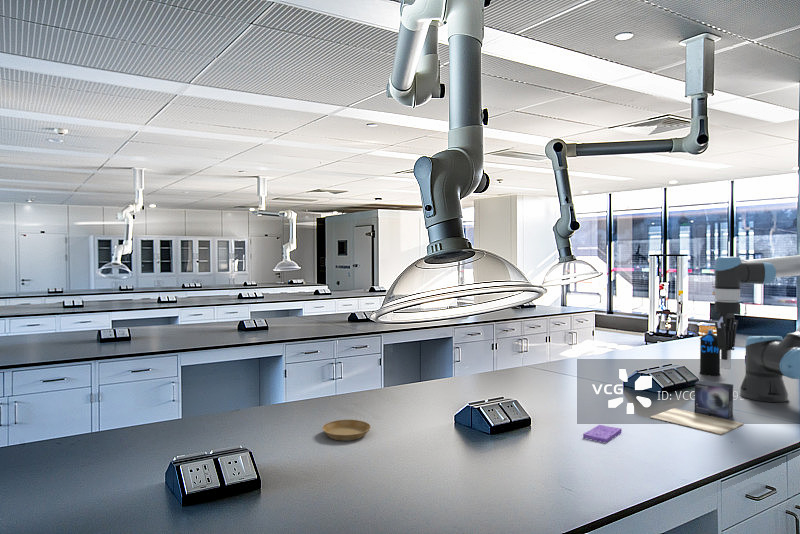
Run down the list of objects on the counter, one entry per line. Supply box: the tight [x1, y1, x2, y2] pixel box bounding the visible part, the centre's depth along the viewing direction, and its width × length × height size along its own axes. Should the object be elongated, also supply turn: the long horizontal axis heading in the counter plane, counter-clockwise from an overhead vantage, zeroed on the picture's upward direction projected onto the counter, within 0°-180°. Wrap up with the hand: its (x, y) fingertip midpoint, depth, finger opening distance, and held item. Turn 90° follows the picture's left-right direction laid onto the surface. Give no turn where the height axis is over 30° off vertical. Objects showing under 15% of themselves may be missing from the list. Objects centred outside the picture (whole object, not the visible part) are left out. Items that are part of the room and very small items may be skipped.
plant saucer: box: [321, 419, 371, 441], centre depth 170 cm, size 15×15×3 cm
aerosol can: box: [699, 328, 721, 377], centre depth 247 cm, size 8×8×20 cm
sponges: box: [582, 424, 623, 444], centre depth 167 cm, size 7×13×2 cm, turn 139°
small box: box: [694, 379, 734, 420], centre depth 188 cm, size 11×6×10 cm, turn 47°
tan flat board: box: [649, 407, 744, 436], centre depth 180 cm, size 16×22×1 cm
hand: (725, 368), depth 193 cm, fingers closed
